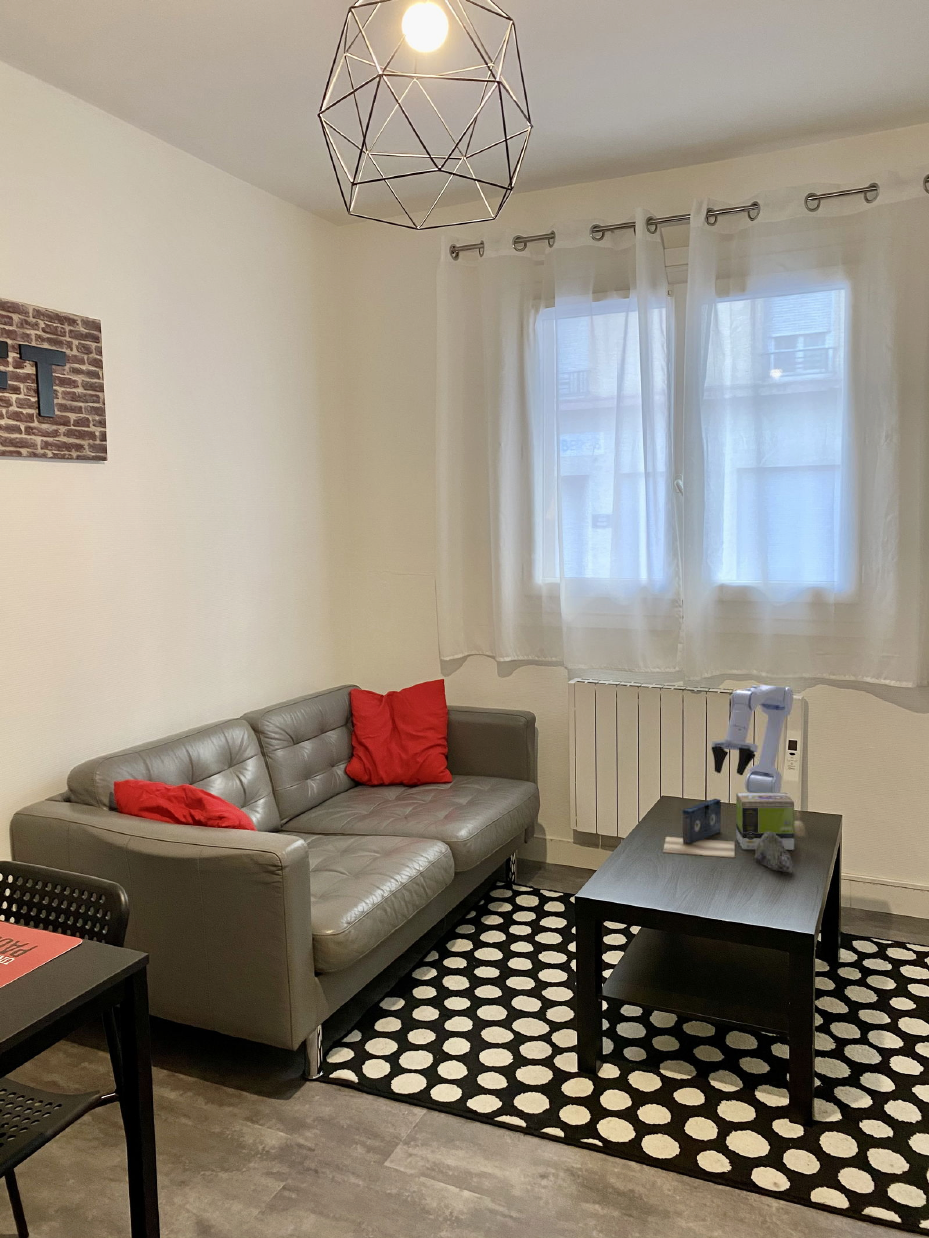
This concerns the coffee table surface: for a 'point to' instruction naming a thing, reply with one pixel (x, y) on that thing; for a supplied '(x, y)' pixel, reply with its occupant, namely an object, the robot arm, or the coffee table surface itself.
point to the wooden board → (700, 847)
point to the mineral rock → (773, 853)
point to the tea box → (764, 818)
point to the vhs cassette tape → (701, 821)
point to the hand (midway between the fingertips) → (728, 773)
